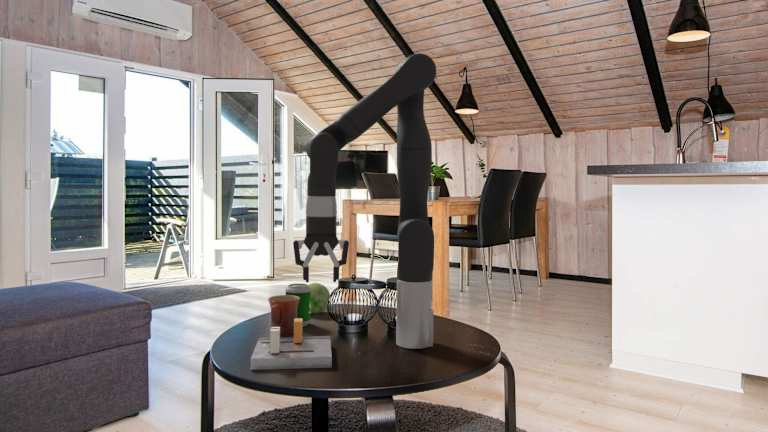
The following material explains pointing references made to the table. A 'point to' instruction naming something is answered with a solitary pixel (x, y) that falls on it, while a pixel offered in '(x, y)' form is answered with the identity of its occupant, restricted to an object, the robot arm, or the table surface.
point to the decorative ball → (318, 297)
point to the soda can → (301, 300)
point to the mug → (284, 313)
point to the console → (293, 354)
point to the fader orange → (298, 330)
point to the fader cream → (275, 340)
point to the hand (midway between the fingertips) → (320, 281)
